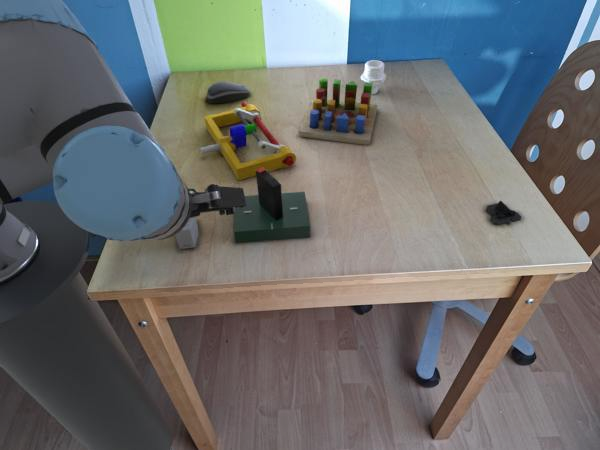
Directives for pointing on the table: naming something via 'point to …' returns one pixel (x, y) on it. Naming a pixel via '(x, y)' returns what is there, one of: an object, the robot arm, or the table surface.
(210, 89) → the computer mouse
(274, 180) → the black bar red tab
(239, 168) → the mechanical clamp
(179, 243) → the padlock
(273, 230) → the green rectangular block
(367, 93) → the peg board
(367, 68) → the pipe fitting
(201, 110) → the table surface
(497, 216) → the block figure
